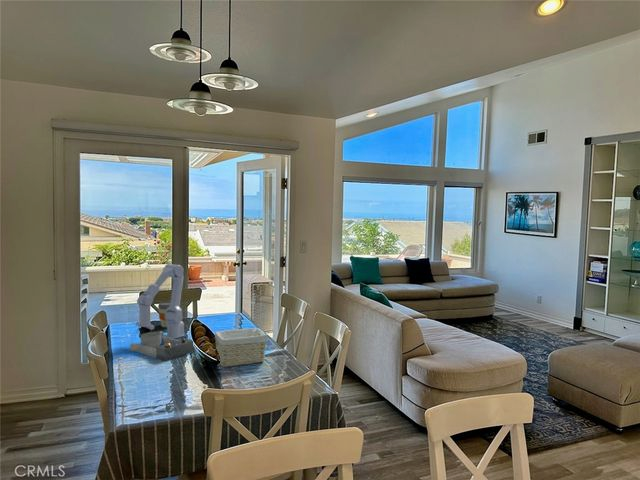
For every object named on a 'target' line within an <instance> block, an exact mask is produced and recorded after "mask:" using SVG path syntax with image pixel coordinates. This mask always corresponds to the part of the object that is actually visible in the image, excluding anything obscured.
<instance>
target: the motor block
mask: <svg viewBox="0 0 640 480" xmlns="http://www.w3.org/2000/svg"><path fill="white" fill-rule="evenodd" d="M166 335H167V334H164V336H163V338H162V343H163V344H162V345H160V346H157V347H156V348H152V347H149V346H146V345H143V344H141V343H139V342H138V343H137V342H136V343H135V342H132V343H129V351H130V352H137V353H140V354H142V355H145V356H149V357H150V358H154V359H156V360H160V361H163V362H166V361H169V360H173V359H176V358H179V357H182V356H186V355H189V354H191V353H190V352H192V351H193V350H194V347H193V341H192V340H193V339H190V338H183V339H178V338H171V337H167V336H166ZM188 353H189V354H188ZM192 353H193V352H192ZM185 354H186V355H185Z"/></svg>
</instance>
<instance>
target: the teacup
mask: <svg viewBox="0 0 640 480" xmlns="http://www.w3.org/2000/svg"><path fill="white" fill-rule="evenodd" d="M164 335H165V333H164V332H163V331H161V330H160V331H150V332H149V333H144V334H142V335H141V334H140V344H143V345H146V346H149V347H152V348H156V347H157V346H161V344H162V340H163V336H164Z"/></svg>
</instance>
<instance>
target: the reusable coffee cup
mask: <svg viewBox="0 0 640 480" xmlns="http://www.w3.org/2000/svg"><path fill="white" fill-rule="evenodd" d="M170 302H171V300H169V301H162V302H161V301H160V302H159V303H158V306H157V309H158V317H159V320H160V326H162V328H167V320H165V317H164V315H165V313H166V310H167V308H168V307H169V306H170Z"/></svg>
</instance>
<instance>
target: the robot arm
mask: <svg viewBox="0 0 640 480" xmlns="http://www.w3.org/2000/svg"><path fill="white" fill-rule="evenodd" d="M184 271H185V270H184V267H183V266H182V265H180V264H174V263H173V264H172V263H167V264H166V265H165V266H164V267H163V268H162V271H161V273H160V275H159V276H158V278H157V279H156V281H154V283H152V284H150V285H148V288H147V289H145V291H144V292H143V294H141V295H139V296H138V298H137V300H136V303H137V304H138V308H139V309H138V310H139V321H135V326H137V327H138V331H139V332H140V336H141V335H142V334H144V333H149V332H151V331H152V330H155V325H153V324H152V323H151V306H152V304H153V302H154V299H155V297H156V295H157V294H158V293H159V291H160V287H161V286H162V285H163V284H164V283H165V282H166V281H167V279H168V278H172V280H173V282H172V284H173V285H172V288H171V289H172V291H171V297H170V301H171V302H170V306H169V307H168V308H167V310H166V313H165V315H164V317H165V320H167V327H166V333H167V334H165V335H166V336H167V337H171V338H174V339H178V338H182V337H185V335H186V334H185V324H184V322H183V321H182V320H183V309H182V308H181V307H180V303H181V298H182V290H183V285H184V284H183V283H184V278H185V277H184Z"/></svg>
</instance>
